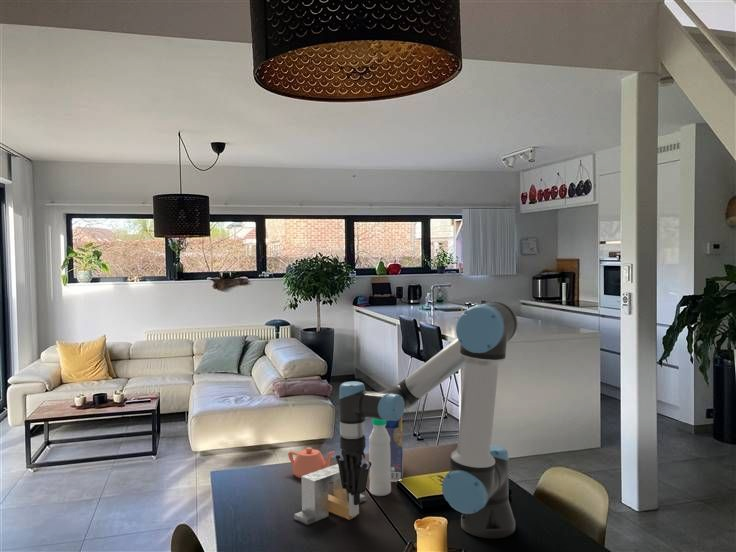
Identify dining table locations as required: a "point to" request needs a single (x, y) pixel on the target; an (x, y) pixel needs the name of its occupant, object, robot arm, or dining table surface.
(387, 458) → the water bottle
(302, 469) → the teapot
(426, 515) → the dining table surface
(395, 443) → the beverage box
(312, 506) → the white arch block
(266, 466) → the dining table surface
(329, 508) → the mallet
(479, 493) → the robot arm
